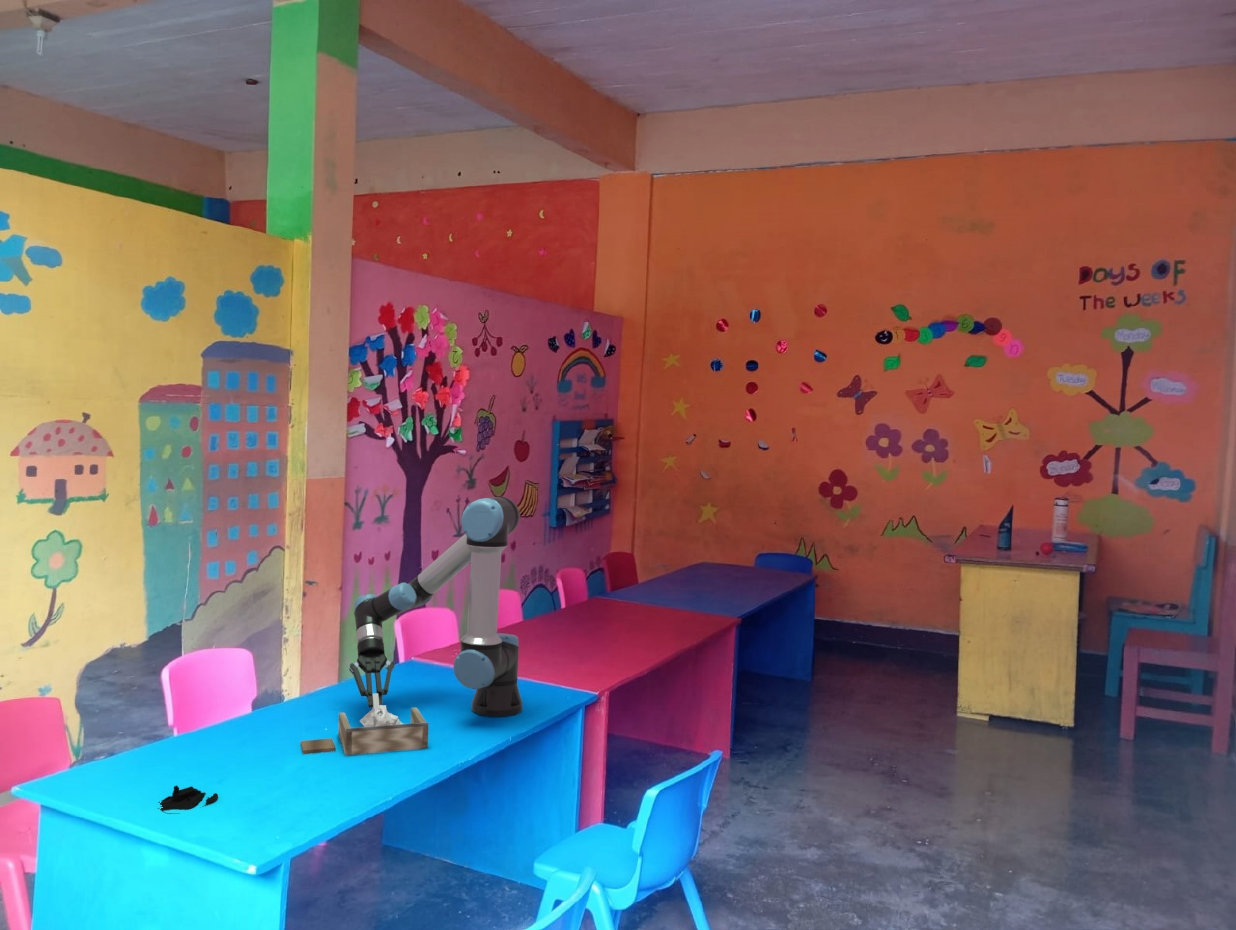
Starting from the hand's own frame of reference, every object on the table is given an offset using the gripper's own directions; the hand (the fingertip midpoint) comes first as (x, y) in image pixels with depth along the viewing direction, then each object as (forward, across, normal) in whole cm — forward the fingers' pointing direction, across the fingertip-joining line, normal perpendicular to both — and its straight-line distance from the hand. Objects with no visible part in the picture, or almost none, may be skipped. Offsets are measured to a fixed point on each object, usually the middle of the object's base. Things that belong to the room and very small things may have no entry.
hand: (376, 716), depth 273 cm
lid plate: (+11, +16, +4) cm, 20 cm away
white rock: (+8, -1, +2) cm, 8 cm away
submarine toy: (+32, +47, +26) cm, 62 cm away
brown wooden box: (+9, 0, +4) cm, 10 cm away
